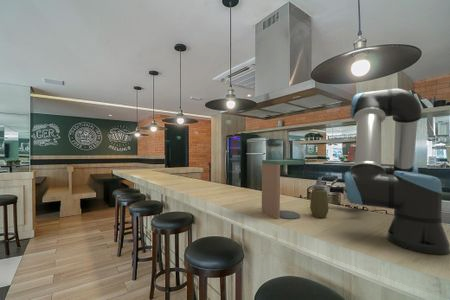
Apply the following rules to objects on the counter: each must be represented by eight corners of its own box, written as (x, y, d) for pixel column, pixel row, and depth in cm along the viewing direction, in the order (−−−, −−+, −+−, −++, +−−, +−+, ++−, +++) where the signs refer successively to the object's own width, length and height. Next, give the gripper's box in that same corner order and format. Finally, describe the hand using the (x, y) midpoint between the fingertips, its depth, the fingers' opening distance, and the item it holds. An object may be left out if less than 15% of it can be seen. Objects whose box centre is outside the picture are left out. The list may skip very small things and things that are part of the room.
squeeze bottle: (330, 219, 96) (331, 178, 96) (311, 218, 98) (311, 178, 98) (326, 214, 104) (326, 176, 104) (308, 213, 106) (308, 176, 106)
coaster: (306, 217, 99) (306, 216, 99) (285, 220, 94) (285, 219, 94) (288, 210, 110) (288, 209, 110) (268, 213, 105) (268, 212, 105)
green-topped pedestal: (304, 215, 102) (304, 159, 103) (276, 219, 96) (277, 159, 96) (287, 208, 113) (287, 158, 114) (261, 212, 107) (262, 158, 107)
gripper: (386, 203, 102) (356, 207, 93) (339, 193, 125) (311, 196, 116) (386, 187, 102) (356, 189, 93) (339, 180, 125) (311, 182, 116)
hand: (331, 193), depth 104 cm, fingers open, 13 cm apart
